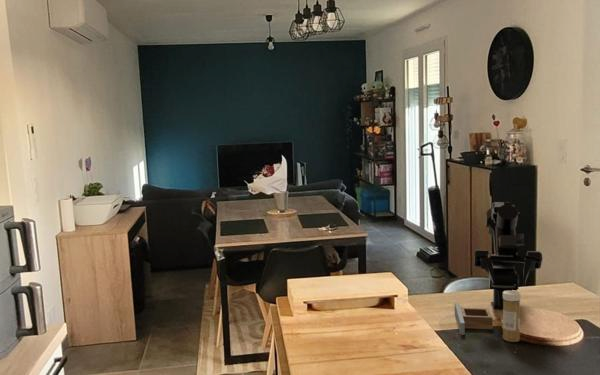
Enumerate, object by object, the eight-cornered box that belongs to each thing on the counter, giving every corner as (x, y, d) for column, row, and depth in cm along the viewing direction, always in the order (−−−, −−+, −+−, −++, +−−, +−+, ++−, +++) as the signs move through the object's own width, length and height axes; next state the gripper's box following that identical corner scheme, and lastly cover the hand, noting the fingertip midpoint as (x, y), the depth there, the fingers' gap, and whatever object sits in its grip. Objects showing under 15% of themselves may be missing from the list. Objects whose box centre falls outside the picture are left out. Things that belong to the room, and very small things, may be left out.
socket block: (460, 318, 170) (460, 307, 170) (488, 319, 169) (488, 308, 168) (462, 327, 162) (462, 316, 162) (492, 329, 160) (492, 317, 160)
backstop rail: (454, 312, 176) (454, 301, 176) (458, 312, 176) (458, 302, 176) (460, 334, 157) (460, 322, 156) (464, 334, 156) (464, 323, 156)
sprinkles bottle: (523, 340, 151) (523, 292, 150) (513, 343, 149) (513, 295, 148) (509, 335, 155) (509, 288, 154) (498, 338, 153) (499, 291, 152)
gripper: (474, 223, 165) (475, 267, 155) (541, 224, 160) (547, 270, 150) (473, 243, 173) (474, 287, 164) (537, 245, 168) (542, 290, 158)
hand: (508, 283), depth 159 cm, fingers open, 8 cm apart
